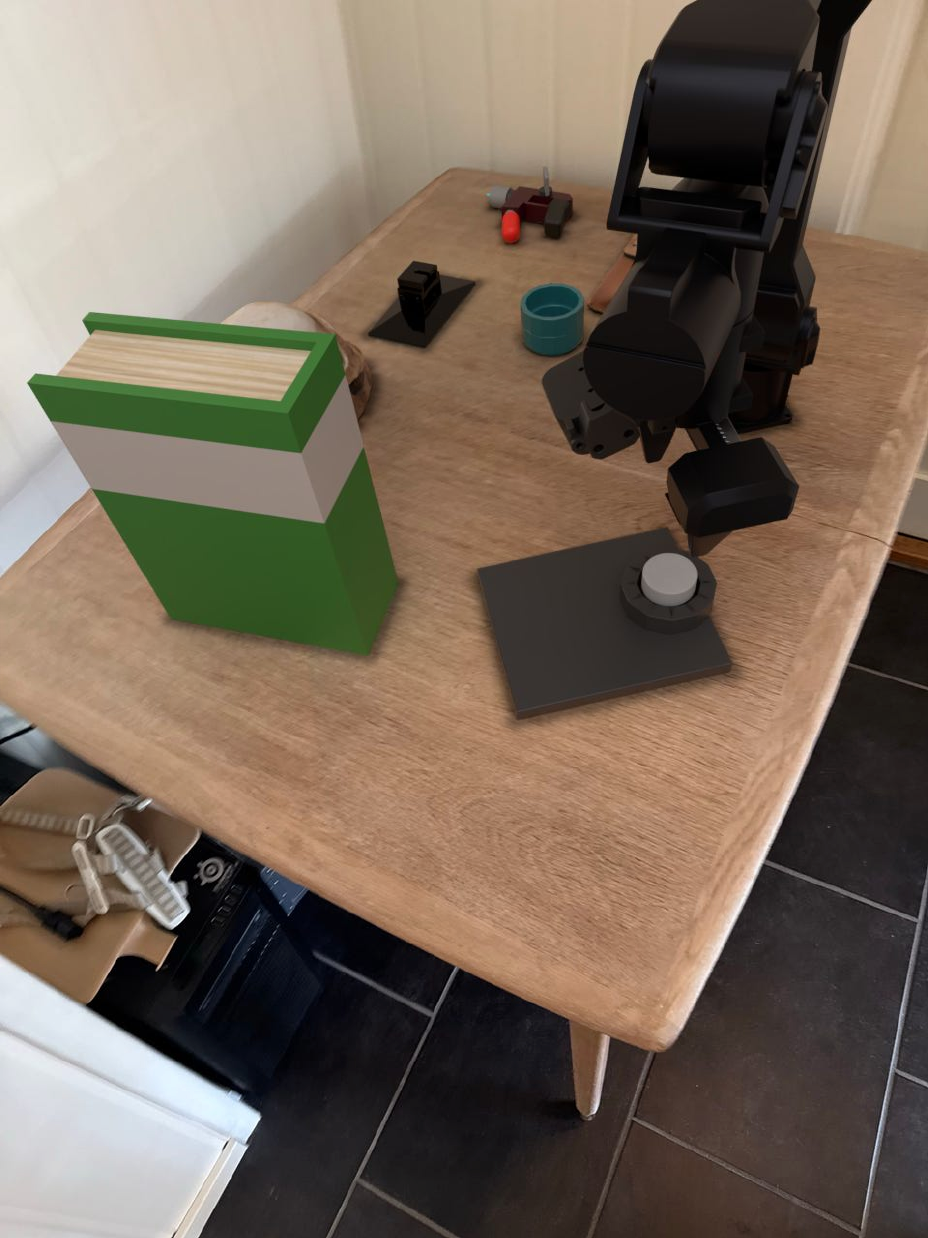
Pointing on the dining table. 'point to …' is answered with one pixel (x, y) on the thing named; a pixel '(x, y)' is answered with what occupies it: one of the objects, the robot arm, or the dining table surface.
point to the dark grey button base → (597, 625)
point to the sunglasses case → (613, 277)
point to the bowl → (552, 319)
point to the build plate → (421, 305)
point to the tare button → (669, 579)
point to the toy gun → (531, 208)
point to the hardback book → (230, 473)
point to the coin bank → (300, 320)
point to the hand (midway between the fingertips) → (674, 505)
